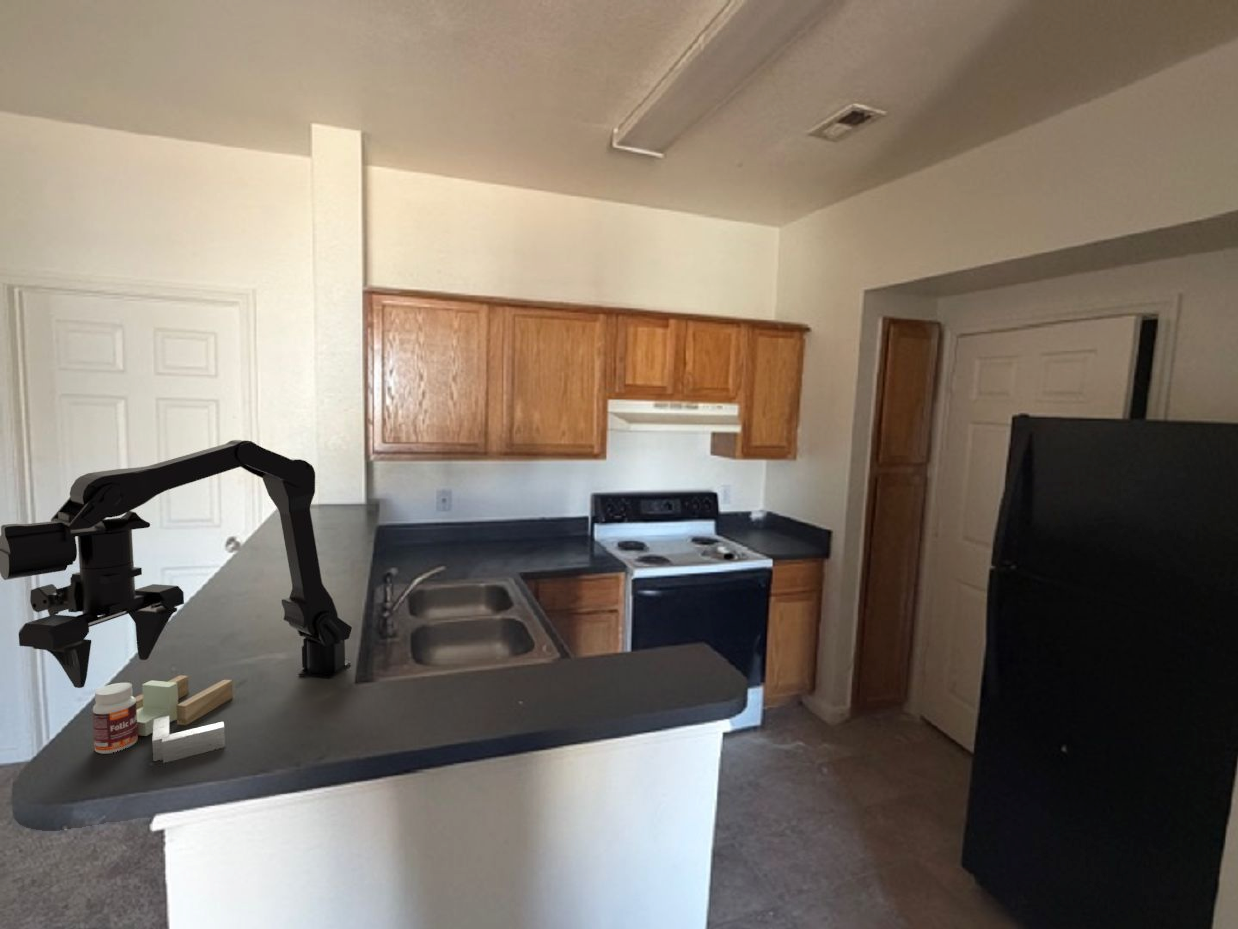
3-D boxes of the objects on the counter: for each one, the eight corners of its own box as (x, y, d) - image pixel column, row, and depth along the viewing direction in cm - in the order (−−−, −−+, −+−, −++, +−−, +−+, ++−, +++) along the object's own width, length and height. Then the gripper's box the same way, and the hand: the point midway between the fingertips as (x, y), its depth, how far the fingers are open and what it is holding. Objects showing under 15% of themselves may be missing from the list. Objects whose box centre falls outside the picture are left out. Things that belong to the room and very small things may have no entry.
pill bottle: (114, 756, 83) (111, 698, 82) (85, 752, 83) (82, 694, 83) (147, 738, 87) (144, 682, 87) (119, 734, 88) (116, 679, 87)
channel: (232, 697, 100) (232, 680, 100) (186, 725, 91) (185, 706, 91) (180, 692, 101) (180, 675, 101) (130, 719, 92) (129, 700, 92)
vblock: (232, 742, 87) (231, 722, 86) (195, 767, 81) (194, 745, 80) (162, 734, 88) (161, 715, 88) (121, 758, 82) (120, 737, 82)
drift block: (178, 717, 93) (177, 682, 92) (145, 736, 87) (144, 699, 87) (152, 714, 93) (151, 680, 93) (118, 733, 88) (116, 696, 88)
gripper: (121, 546, 94) (127, 643, 95) (-23, 578, 75) (-14, 698, 77) (184, 549, 92) (189, 648, 93) (53, 584, 74) (61, 706, 75)
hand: (113, 672), depth 85 cm, fingers open, 9 cm apart
